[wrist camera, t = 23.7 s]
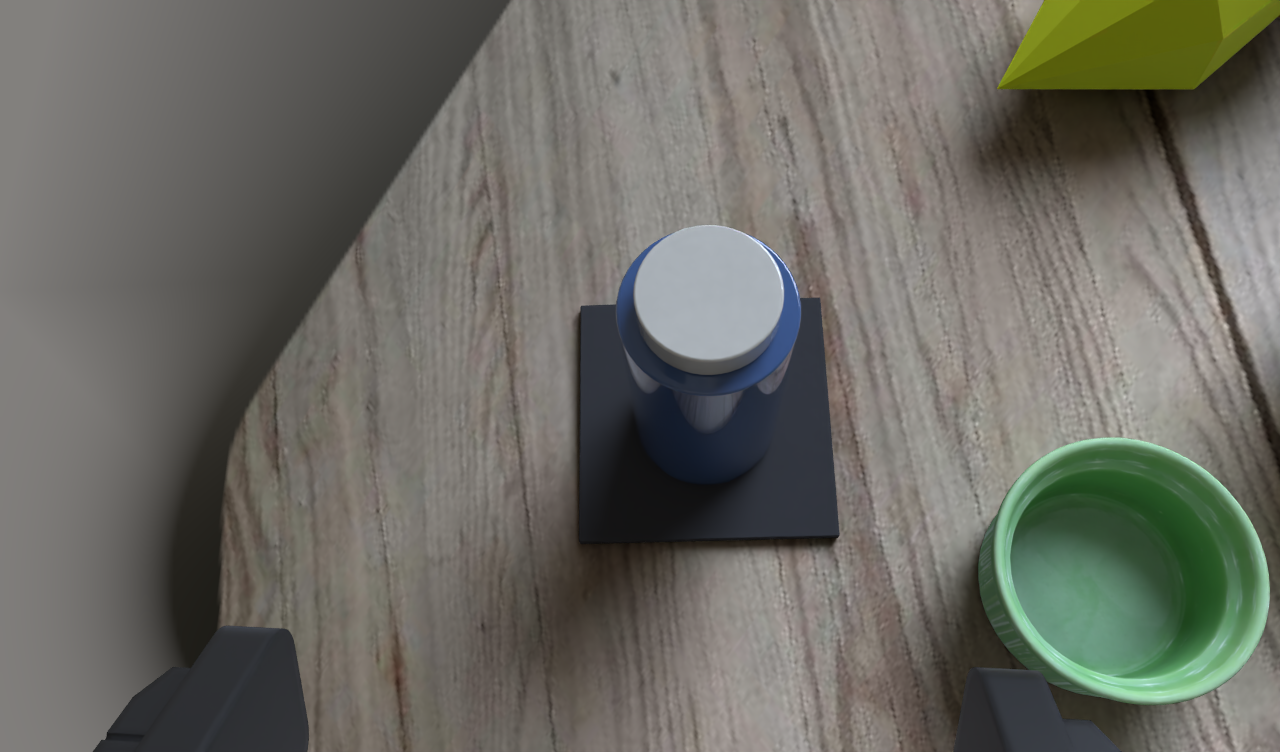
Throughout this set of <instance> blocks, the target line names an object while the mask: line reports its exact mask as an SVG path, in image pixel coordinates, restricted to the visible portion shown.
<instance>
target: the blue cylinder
mask: <svg viewBox="0 0 1280 752" xmlns="http://www.w3.org/2000/svg"><path fill="white" fill-rule="evenodd" d="M616 321H617V328H618V333H619V338H620V343H621V349H622V354H623V359H624V364H625V370H626V375H627V380H628V385H629V391H630V396H631V401H632V406H633V412H634V417H635V422H636V427H637V432H638V436H639V439H640V441H641V444H642V446H643V448H644V450H645V452H646V453H647V454H648V456H649V457H650V459H651V460H652V461H653V462H654V463H655V464H656V465H657V466H658V467H659V468H661V469H662V470H663V471H664V472H666V473H668V474H669V475H671V476H673V477H675V478H677V479H679V480H682V481H686V482H689V483H694V484H705V485H709V484H719V483H723V482H727V481H730V480H733V479H736V478H738V477H739V476H741V475H743V474H745V473H746V472H748V471H749V470H751V469H752V468H753V467H754V466H755V465H756V464H757V463H758V462H759V461H760V460H761V459H762V457H763V456H764V455H765V453H766V452H767V450H768V448H769V446H770V444H771V442H772V439H773V436H774V432H775V428H776V424H777V420H778V416H779V412H780V407H781V403H782V399H783V395H784V391H785V387H786V382H787V378H788V374H789V370H790V366H791V362H792V358H793V353H794V349H795V345H796V341H797V337H798V333H799V328H800V322H801V301H800V295H799V291H798V288H797V285H796V282H795V280H794V278H793V276H792V274H791V272H790V270H789V269H788V267H787V266H786V264H785V263H784V262H783V261H782V259H781V258H780V257H779V256H778V255H777V254H776V253H775V252H774V251H773V250H772V249H771V248H769V247H768V246H767V245H765V244H764V243H762V242H761V241H759V240H758V239H756V238H754V237H752V236H750V235H748V234H745V233H743V232H740V231H738V230H735V229H732V228H728V227H724V226H717V225H702V226H694V227H689V228H686V229H683V230H680V231H677V232H675V233H672V234H670V235H667V236H665V237H663V238H661V239H660V240H658V241H656V242H655V243H653V244H652V245H650V246H649V247H648V248H647V249H646V250H644V251H643V252H642V253H641V254H640V255H639V256H638V257H637V258H636V259H635V261H634V262H633V263H632V265H631V266H630V267H629V269H628V270H627V272H626V274H625V276H624V278H623V280H622V283H621V285H620V288H619V292H618V296H617V301H616Z"/></svg>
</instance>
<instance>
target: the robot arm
mask: <svg viewBox="0 0 1280 752" xmlns="http://www.w3.org/2000/svg"><path fill="white" fill-rule="evenodd" d="M308 741H309V727H308V719H307V714H306V708H305V702H304V696H303V690H302V685H301V679H300V673H299V667H298V661H297V655H296V650H295V644H294V640H293V637H292V635H291V633H290V632H289V631H288V630H287V629H280V628H261V627H242V626H223V627H221V628H220V629H219V630H218V631H217V632H216V633H215V634H214V635H213V637H212V638H211V640H210V641H209V643H208V644H207V646H206V647H205V648H204V650H203V651H202V653H201V654H200V656H199V657H198V659H197V660H196V661H195V663H194V664H193V666H192V667H191V668H178V667H172V668H171V669H170V670H168V671H167V672H166V673H164V674H163V675H162V676H160V677H159V678H158V679H156V680H155V681H154V682H152V683H151V684H150V685H148V686H147V687H146V688H144V689H143V690H142V691H141V692H139V693H138V694H136V695H135V696H134V697H133V698H132V699H131V701H130V702H129V703H128V705H127V706H126V707H125V709H124V710H123V711H122V713H121V714H120V715H119V717H118V718H117V720H116V721H115V722H114V724H113V725H112V726H111V728H110V729H109V730H108V732H107V737H106V739H105V740H101V741H100V743H99V744H98V745H97V747H96V748H95V750H94V751H93V752H307V750H308ZM953 752H1121V751H1120V750H1119V749H1118V748H1117V747H1116V746H1115V745H1114V744H1113V743H1112V742H1111V741H1110V739H1109V738H1108V737H1107V736H1106V735H1105V734H1104V733H1103V732H1102V731H1101V730H1100V729H1099V728H1098V727H1097V726H1096V725H1095V724H1094V723H1093V722H1092V721H1091V720H1075V719H1062V717H1061V715H1060V712H1059V710H1058V708H1057V705H1056V703H1055V700H1054V698H1053V696H1052V693H1051V691H1050V688H1049V686H1048V684H1047V681H1046V679H1045V677H1044V676H1043V674H1042V673H1041V672H1040V671H1036V670H1017V669H998V668H979V667H973V668H971V669H970V671H969V673H968V676H967V680H966V685H965V690H964V696H963V701H962V707H961V712H960V718H959V723H958V729H957V734H956V740H955V745H954V751H953Z"/></svg>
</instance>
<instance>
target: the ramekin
mask: <svg viewBox="0 0 1280 752" xmlns="http://www.w3.org/2000/svg"><path fill="white" fill-rule="evenodd" d="M978 579H979V586H980V595H981V599H982V602H983V606H984V609H985V612H986V614H987V617H988V619H989V621H990V623H991V625H992V626H993V628H994V630H995V632H996V634H997V635H998V637H999V638H1000V640H1001V641H1002V642H1003V644H1004V645H1005V646H1006V648H1007V649H1008V650H1009V651H1010V652H1011V653H1012V654H1013V655H1014V656H1015V657H1016V658H1017V659H1018V661H1019V662H1020V663H1022V664H1023V665H1024V666H1025V667H1026V668H1028V669H1029V670H1036V671H1040V672H1041V673H1042V674H1043V676H1044V677H1045V679H1046V681H1047V682H1049V683H1051V684H1054V685H1056V686H1058V687H1060V688H1062V689H1065V690H1069V691H1072V692H1074V693H1077V694H1083V695H1090V696H1096V697H1103V698H1107V699H1111V700H1115V701H1119V702H1124V703H1130V704H1138V705H1166V704H1174V703H1179V702H1184V701H1188V700H1191V699H1194V698H1197V697H1200V696H1202V695H1204V694H1207V693H1209V692H1211V691H1213V690H1215V689H1216V688H1218V687H1220V686H1221V685H1222V684H1224V683H1225V682H1227V681H1228V680H1229V679H1231V678H1232V677H1233V676H1234V675H1235V674H1236V673H1237V672H1238V671H1239V670H1240V669H1241V668H1242V667H1243V666H1244V664H1245V663H1246V662H1247V661H1248V660H1249V658H1250V657H1251V655H1252V654H1253V652H1254V650H1255V648H1256V647H1257V645H1258V643H1259V641H1260V639H1261V636H1262V634H1263V631H1264V627H1265V624H1266V621H1267V616H1268V609H1269V599H1270V596H1269V594H1270V585H1269V573H1268V568H1267V563H1266V558H1265V554H1264V551H1263V548H1262V545H1261V542H1260V540H1259V538H1258V535H1257V533H1256V531H1255V529H1254V527H1253V525H1252V523H1251V521H1250V520H1249V518H1248V516H1247V515H1246V513H1245V512H1244V510H1243V509H1242V507H1241V506H1240V505H1239V503H1238V502H1237V501H1236V499H1235V498H1234V497H1233V496H1232V495H1231V494H1230V492H1229V491H1228V490H1227V489H1226V488H1225V487H1224V486H1223V485H1222V484H1221V483H1220V482H1219V481H1218V480H1217V479H1216V478H1214V477H1213V476H1212V475H1211V474H1210V473H1208V472H1207V471H1206V470H1205V469H1203V468H1202V467H1200V466H1199V465H1197V464H1196V463H1194V462H1193V461H1191V460H1189V459H1188V458H1186V457H1184V456H1182V455H1180V454H1178V453H1176V452H1174V451H1171V450H1169V449H1167V448H1164V447H1161V446H1158V445H1155V444H1152V443H1148V442H1144V441H1139V440H1134V439H1127V438H1097V439H1088V440H1083V441H1079V442H1075V443H1072V444H1068V445H1066V446H1063V447H1061V448H1058V449H1056V450H1054V451H1052V452H1050V453H1048V454H1047V455H1045V456H1043V457H1042V458H1040V459H1039V460H1037V461H1036V462H1035V463H1034V464H1032V465H1031V466H1030V467H1029V468H1028V469H1027V470H1026V471H1025V472H1024V473H1023V474H1022V475H1021V476H1020V477H1019V478H1018V479H1017V480H1016V482H1015V483H1014V484H1013V486H1012V487H1011V488H1010V490H1009V491H1008V493H1007V495H1006V496H1005V498H1004V500H1003V502H1002V504H1001V506H1000V509H999V511H998V514H997V515H996V517H995V518H994V519H993V521H992V522H991V524H990V526H989V528H988V530H987V532H986V534H985V537H984V540H983V543H982V546H981V549H980V557H979V563H978Z"/></svg>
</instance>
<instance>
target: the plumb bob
mask: <svg viewBox="0 0 1280 752" xmlns="http://www.w3.org/2000/svg"><path fill="white" fill-rule="evenodd" d="M1277 17H1280V0H1044V2H1043V4H1042V6H1041V8H1040V9H1039V11H1038V13H1037V15H1036V17H1035V19H1034V21H1033V22H1032V24H1031V26H1030V28H1029V30H1028V32H1027V34H1026V35H1025V37H1024V39H1023V41H1022V43H1021V45H1020V47H1019V49H1018V50H1017V52H1016V54H1015V56H1014V58H1013V60H1012V62H1011V63H1010V65H1009V67H1008V69H1007V71H1006V73H1005V75H1004V76H1003V78H1002V80H1001V82H1000V84H999V86H998V88H997V89H1195V88H1196V87H1197V86H1198V85H1200V84H1201V83H1202V82H1203V81H1204V80H1205V79H1206V78H1208V77H1209V76H1210V75H1211V74H1212V73H1213V72H1215V71H1216V70H1217V69H1218V68H1219V67H1220V66H1221V65H1223V64H1224V63H1225V62H1226V61H1227V60H1228V59H1230V58H1231V57H1232V56H1233V55H1234V54H1235V53H1236V52H1238V51H1239V50H1240V49H1241V48H1242V47H1243V46H1245V45H1246V44H1247V43H1248V42H1249V41H1250V40H1251V39H1253V38H1254V37H1255V36H1256V35H1257V34H1258V33H1260V32H1261V31H1262V30H1263V29H1264V28H1265V27H1266V26H1268V25H1269V24H1270V23H1271V22H1272V21H1273V20H1275V19H1276V18H1277Z"/></svg>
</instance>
